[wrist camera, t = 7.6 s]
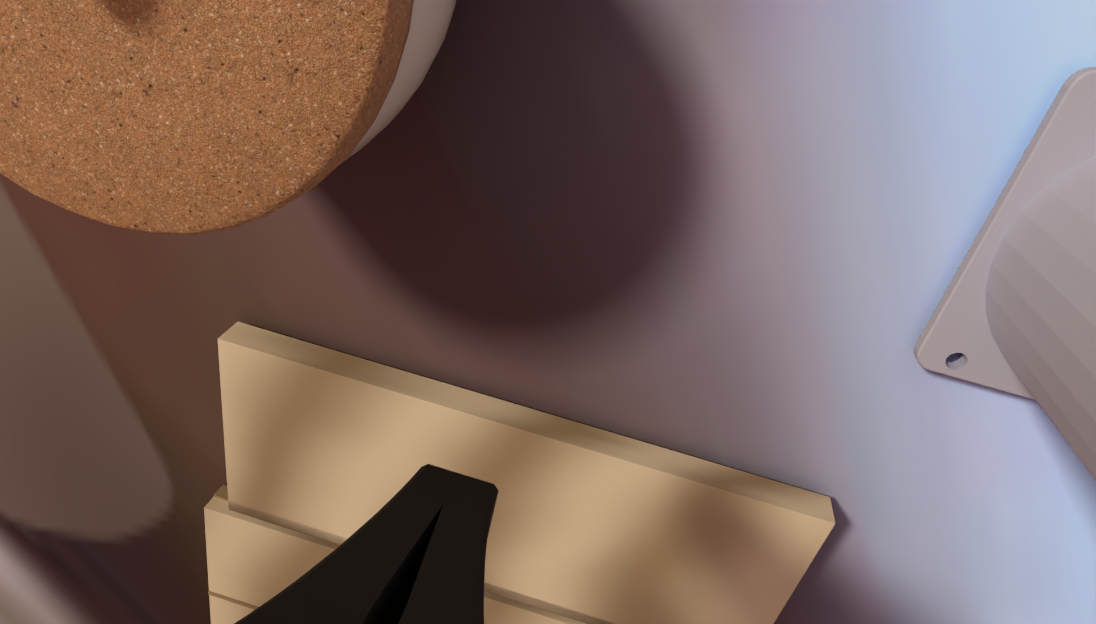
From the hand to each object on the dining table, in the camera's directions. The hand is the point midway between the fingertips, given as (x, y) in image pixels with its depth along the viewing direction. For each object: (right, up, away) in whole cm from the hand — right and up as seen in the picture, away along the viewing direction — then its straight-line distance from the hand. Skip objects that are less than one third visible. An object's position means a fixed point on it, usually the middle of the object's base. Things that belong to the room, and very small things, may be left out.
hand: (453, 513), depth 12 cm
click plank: (0, -3, +12) cm, 12 cm away
